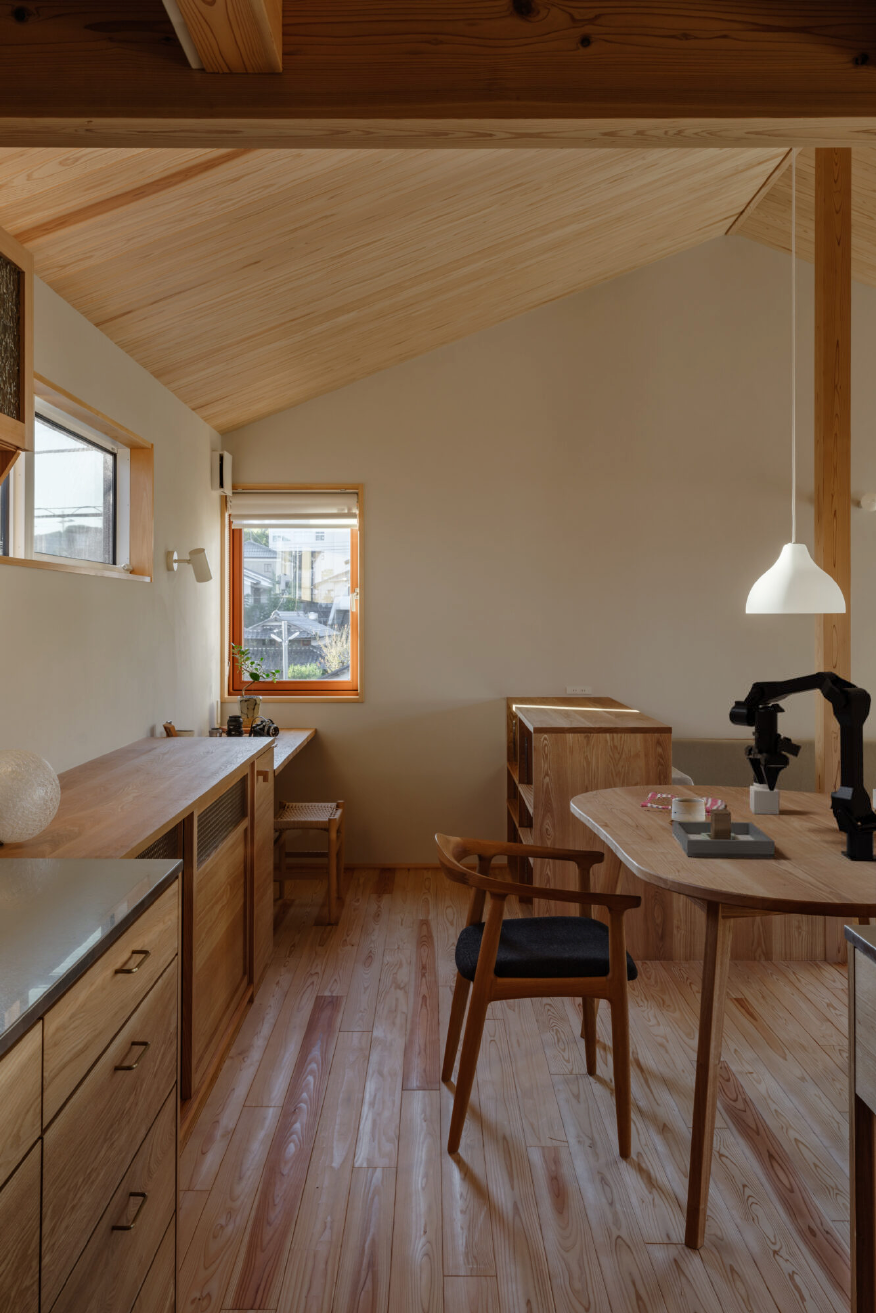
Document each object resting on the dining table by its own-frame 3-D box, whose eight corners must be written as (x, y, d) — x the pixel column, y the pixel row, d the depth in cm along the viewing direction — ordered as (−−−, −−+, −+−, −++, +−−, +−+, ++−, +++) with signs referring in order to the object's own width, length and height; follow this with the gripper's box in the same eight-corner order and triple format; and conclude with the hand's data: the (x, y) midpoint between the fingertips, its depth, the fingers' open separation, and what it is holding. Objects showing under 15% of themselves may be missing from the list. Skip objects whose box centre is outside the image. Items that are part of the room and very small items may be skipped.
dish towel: (649, 801, 268) (649, 790, 268) (726, 806, 258) (725, 795, 258) (639, 812, 252) (639, 800, 252) (721, 818, 243) (721, 806, 243)
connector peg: (731, 844, 206) (731, 812, 206) (714, 844, 207) (714, 812, 206) (727, 840, 210) (727, 809, 210) (710, 840, 211) (710, 809, 210)
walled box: (774, 858, 197) (774, 841, 197) (687, 856, 200) (687, 840, 199) (751, 837, 217) (751, 822, 217) (672, 836, 219) (672, 821, 219)
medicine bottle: (779, 814, 244) (779, 773, 243) (753, 814, 245) (753, 773, 245) (774, 809, 251) (774, 769, 250) (749, 809, 252) (749, 769, 252)
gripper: (810, 733, 211) (810, 794, 212) (785, 724, 230) (785, 781, 230) (764, 733, 212) (764, 794, 213) (744, 724, 231) (744, 781, 231)
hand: (766, 787), depth 222 cm, fingers open, 9 cm apart
